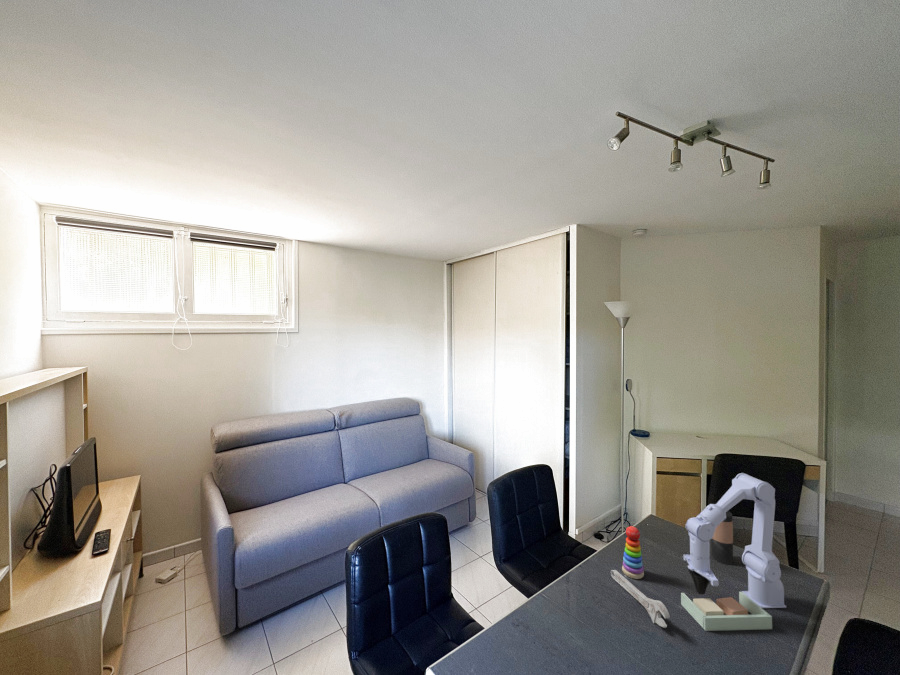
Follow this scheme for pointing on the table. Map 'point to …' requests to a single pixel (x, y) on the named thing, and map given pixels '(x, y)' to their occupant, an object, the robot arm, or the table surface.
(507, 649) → the table surface
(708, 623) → the box
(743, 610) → the terracotta tile
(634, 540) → the stacking toy
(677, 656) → the table surface
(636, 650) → the table surface
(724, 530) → the travel mug
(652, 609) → the wrench
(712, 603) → the sand tile
